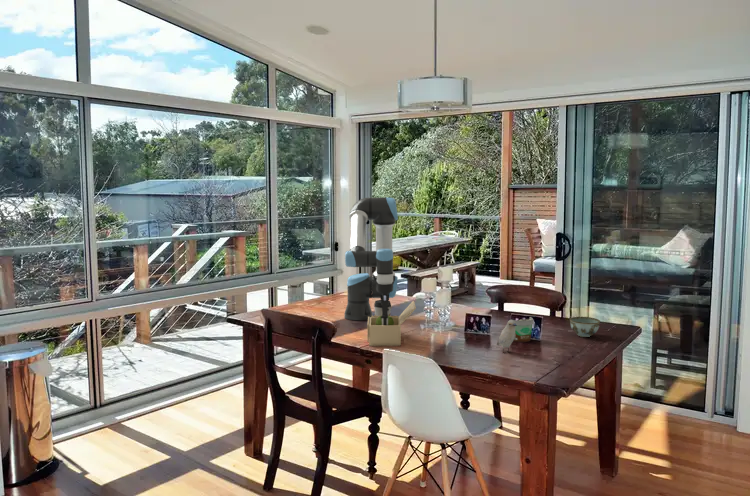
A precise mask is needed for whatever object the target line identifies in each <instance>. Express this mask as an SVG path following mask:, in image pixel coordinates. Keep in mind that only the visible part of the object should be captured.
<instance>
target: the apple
mask: <svg viewBox="0 0 750 496" xmlns="http://www.w3.org/2000/svg"><path fill="white" fill-rule="evenodd" d="M390 316H391V315H390ZM390 316H388V325H394V321H393V318H392V317H390ZM376 325H382V318H381V316H379V317H378V318H377V319H376Z"/></svg>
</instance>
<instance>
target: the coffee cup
mask: <svg viewBox="0 0 750 496" xmlns="http://www.w3.org/2000/svg"><path fill="white" fill-rule="evenodd" d="M373 306H374V316H382V305H381V299H376V300H375V301H374V304H373ZM391 308H392V303H391V300H389V305H388V309H389V311H388V316H391V311H392V310H391Z"/></svg>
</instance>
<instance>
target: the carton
mask: <svg viewBox="0 0 750 496" xmlns="http://www.w3.org/2000/svg"><path fill="white" fill-rule="evenodd" d="M378 317H379V316H375V315H373V316H371V317H370V319H369V317H368V319H367V325H366V326H367V331H366V332H367V343H369V347H401V344H402V342H401V341H402V339H401V337H402V336H401V334H402V333H401V332H402V331H401V328H402V324H400V318H399V315H390V317H392V318H393V321H394V325H376V319H377V318H378Z"/></svg>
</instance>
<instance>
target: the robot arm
mask: <svg viewBox="0 0 750 496" xmlns="http://www.w3.org/2000/svg"><path fill="white" fill-rule="evenodd" d="M348 214H349V215H348V220H349V222H350V240H349V250H347V251H345V253H344V254H345V255H344V259H345V261H344V263H345V266H346V267H348V268H375V271H373V274H372V275H373V276H371V275H370V274H369V273H366V272H365V273H364V272H363V273H357V274H352V275H350V276H349V277H348V278H347V282H346V286H347V305H346V306H345V307H346V308H345V311H344V315H343V316H344V319H346V320H350V321H366V320H367V321H368V317H369V320H370V317H371V316H374V315H373V314H374V313H373V311H372V307H371V304H370V299H380V300H381V305H382V316H381V318H382V325H388V311H389V309H388V305H389V301H390V299H393V298H394V297H396V295H397V294H396V293H397V289H398V282H399V281H398V280H399V279H398V276H397V275H396V273H395V272H394V251H393V226H395V224H396V221H398V220H399V216H398V208H397V202H396V199H395V198H394V197H386V196H385V197H363V198H360V199H359V200H357V201H356V202H355V203H354V204H353V205H352V207H351V208H350V211H349V213H348ZM368 221H372V224H373V226H375V250H367V249H366V243H367V242H366V241H367V240H366V239H367V238H366V235H367V234H366V232H367V231H366V230H367V222H368Z"/></svg>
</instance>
